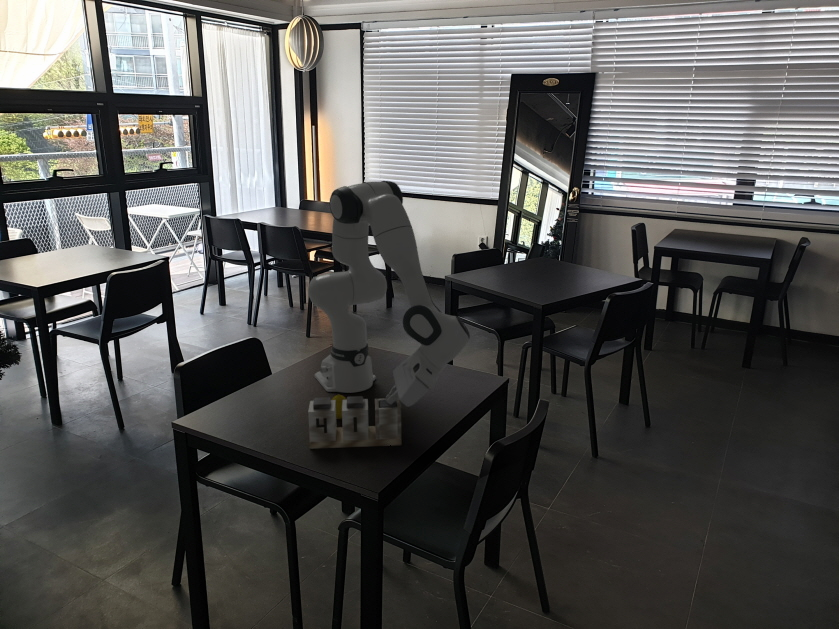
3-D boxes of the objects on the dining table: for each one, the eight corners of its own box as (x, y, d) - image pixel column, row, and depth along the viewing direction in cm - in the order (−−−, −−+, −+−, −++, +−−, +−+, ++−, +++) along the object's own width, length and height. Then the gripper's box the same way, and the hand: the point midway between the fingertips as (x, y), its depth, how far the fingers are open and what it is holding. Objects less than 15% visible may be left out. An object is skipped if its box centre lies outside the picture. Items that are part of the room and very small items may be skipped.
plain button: (380, 428, 178) (379, 406, 176) (379, 421, 182) (379, 399, 180) (396, 427, 178) (396, 406, 176) (395, 420, 182) (395, 399, 181)
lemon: (349, 414, 195) (348, 390, 193) (348, 423, 190) (347, 398, 188) (331, 415, 195) (330, 390, 193) (329, 423, 190) (328, 398, 187)
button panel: (309, 448, 176) (307, 408, 172) (312, 433, 184) (310, 394, 181) (401, 445, 177) (401, 405, 174) (399, 429, 186) (399, 391, 182)
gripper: (410, 346, 185) (377, 379, 187) (419, 373, 166) (382, 409, 168) (425, 359, 187) (392, 392, 189) (436, 388, 168) (399, 424, 169)
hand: (387, 401), depth 178 cm, fingers closed, pressing on plain button
